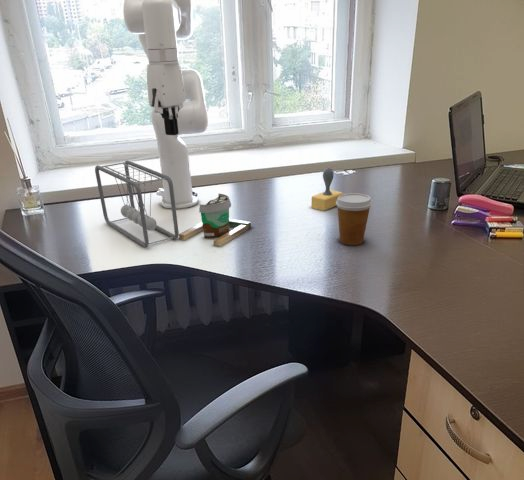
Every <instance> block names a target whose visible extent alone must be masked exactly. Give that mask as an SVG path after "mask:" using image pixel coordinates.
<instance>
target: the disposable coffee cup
mask: <svg viewBox="0 0 524 480" xmlns="http://www.w3.org/2000/svg"><path fill="white" fill-rule="evenodd" d="M336 205H337V206H336V207H337V218H338V219H337V220H338V232H339V242H340V243H341V244H343V245H347V246H356V245H361V244H362V243H363V242H364V238H365V233H366V229H367V223H368V220H369V219H368V218H369V213H370V209H371V207H372V205H373V201H372V198H371V196H370V195H368V194H364V193H360V192H359V193H358V192H357V193H356V192H353V193H352V192H350V193H349V192H348V193H343V195H340V196H339V197H338V199H337V201H336Z"/></svg>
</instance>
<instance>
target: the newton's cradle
mask: <svg viewBox="0 0 524 480" xmlns="http://www.w3.org/2000/svg"><path fill="white" fill-rule="evenodd" d="M118 165H124V166H123V167H121V169H123V168H124V170H122V172H121V170H117V169H119V167H115V169H114V168H112V167H114V166H118ZM131 170H132V172H130V171H131ZM135 170H136V173H139V176H141V175H143V174H144V175H148V178H150V180H147V181H146V180H145V181H140V180H141V177H138V178H134V177H136V176H137V174H135ZM100 172H103V173H105V174H107V175H109V176H111V177H113V178H114V179H115V183H116V185H117V187H118V190H119V193H120V196H121V199H122V202H123V204H124V205H122V207H121V208H120V214H121V215H122V217H123V218H119V219H116V220H110V219H109V216H108V211H107V206H106V201H105V195H104V191H103V185H102V180H101V174H100ZM123 172H125V173H123ZM94 174H95V179H96V184H97V188H98V194H99V199H100V205H101V208H102V209H101V210H102V214H103V219H104V221H105V223H106V225H108V226H110V227H111V228H113V229H115V230H116V231H118V232H120V233H121V234H122V235H124V236H126V237H128V238H129V239H131V240H132V241H134V242H135V243H137V244H138V245H140V246H142V247H143V248H148V247H149V245H152V244H157V243H160V242H165V241H169V240H171V239H173V240H177V239H179V234H180V232H179V224H178V216H177V215H178V214H177V209H176V206H175V197H174V189H173V183H172V180H171V178H170V177H169V176H166V175H164V174H161V172H159V171H156V170H153V169H151V168H149V167H146V166H143V165H141V164H139V163H136V162H133V161H131V160H129V159H128V160H125V161H124V162H117V163H113V164H112V163H111V164H107V165H102V166H101V165H96V166H95V167H94ZM130 174H132V175H130ZM152 177H153V178H155V179H152ZM146 178H147V176H144V177H143V179H146ZM164 179H165V180H167V182H168V184H169V191H170V199H171V207H172V208H171V213H172V214H171V215H172V223H173V230H174V234H173V233H172V232H170V231H168V230H166V229H164V228H163V227H161V226H159V225H158V223H157V220H156V219H155V218H153V217H151V212H152V209H151V208H152V194H149V195H150V198H149V199H150V200H149V201H150V203H149V215H148V213H147V210H146V190H144V193H143V194H144V195H142V189H141V187H140V185H143V184H144V185H145V184H148V183H154V182H159V181H162V180H164ZM117 180H120V183H121V186H122V188H123V191H124V195H125V197H126V201H127V203H126V204H125V201H124V197H123V195H122V192H121V188H120V186H119V184H118V181H117ZM123 183H125V184H126V190H125V189H124V188H125V187H124V185H123ZM135 190H136V191H135ZM134 196H135V199H136V202H137V205H138V207H137V208H136V206H135V200H134ZM143 197H144V198H143ZM124 220H129V221H131V222H133V223H134V224H136V225H139V227H141V228H142V234H143V240H141V239H140V238H138V237H136V236H135V235H133V234H131V233H130V232H128V231H127V230H125V229H123V228H122V227H120V226H119V225H117V224H115V223H116V222H119V221H120V222H121V221H124ZM154 230H157V231H158V232H160V233H162V234H164V235H166V236H168V237H167V238H163V239H159V240H156V241H151V242H150V241H149V232H152V231H154Z"/></svg>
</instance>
